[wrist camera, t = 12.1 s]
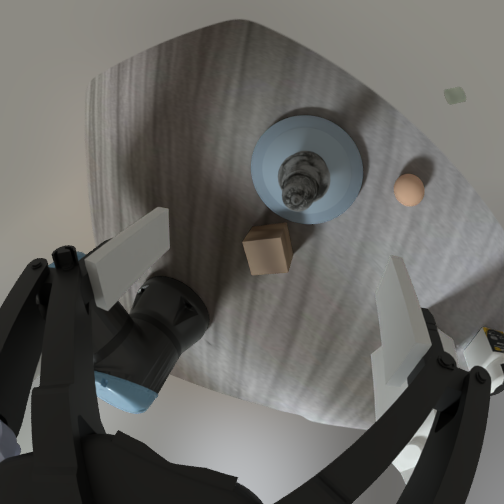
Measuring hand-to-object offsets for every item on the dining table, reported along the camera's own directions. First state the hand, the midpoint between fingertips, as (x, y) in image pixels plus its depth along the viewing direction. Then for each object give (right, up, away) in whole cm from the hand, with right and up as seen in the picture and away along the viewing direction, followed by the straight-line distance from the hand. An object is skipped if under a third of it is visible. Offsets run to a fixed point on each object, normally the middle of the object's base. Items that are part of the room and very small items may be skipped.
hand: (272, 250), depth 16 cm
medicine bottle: (+44, -17, +22) cm, 52 cm away
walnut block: (+2, +2, +25) cm, 25 cm away
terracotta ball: (+18, +7, +14) cm, 24 cm away
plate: (+6, +10, +18) cm, 22 cm away
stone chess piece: (+6, +10, +17) cm, 21 cm away
